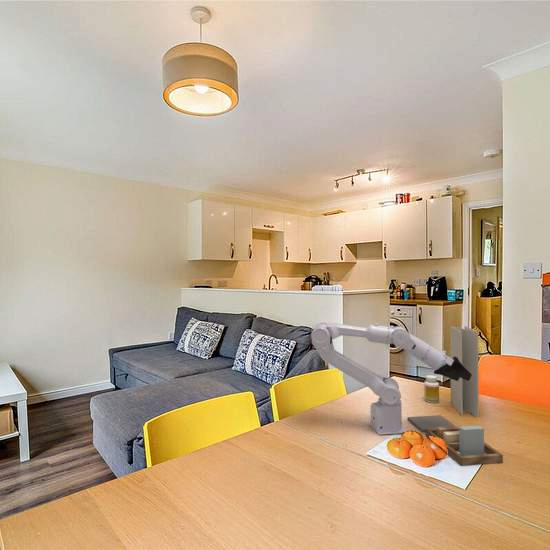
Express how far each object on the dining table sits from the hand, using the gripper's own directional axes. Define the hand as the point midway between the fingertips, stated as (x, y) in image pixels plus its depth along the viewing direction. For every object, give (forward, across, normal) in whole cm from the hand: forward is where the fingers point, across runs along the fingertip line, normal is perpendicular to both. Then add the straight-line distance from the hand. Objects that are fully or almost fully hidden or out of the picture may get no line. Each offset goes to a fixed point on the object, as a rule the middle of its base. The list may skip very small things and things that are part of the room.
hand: (464, 378), depth 113 cm
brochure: (+14, +26, +3) cm, 30 cm away
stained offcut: (+6, +3, +18) cm, 19 cm away
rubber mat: (+3, +13, +16) cm, 21 cm away
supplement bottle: (+6, +35, +6) cm, 36 cm away
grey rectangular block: (+9, -6, +20) cm, 22 cm away
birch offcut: (+7, 0, +19) cm, 20 cm away
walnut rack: (+7, -2, +19) cm, 20 cm away
